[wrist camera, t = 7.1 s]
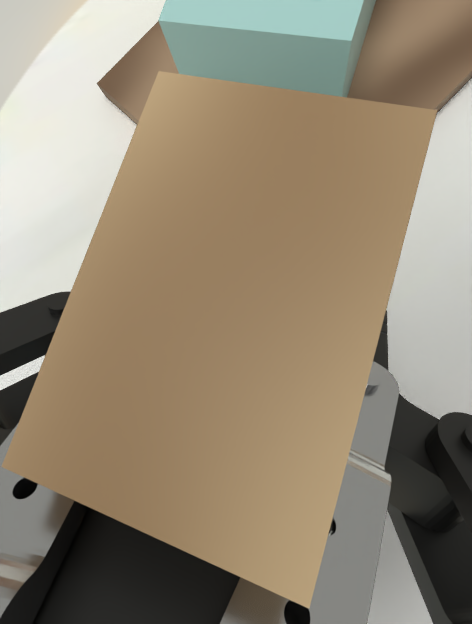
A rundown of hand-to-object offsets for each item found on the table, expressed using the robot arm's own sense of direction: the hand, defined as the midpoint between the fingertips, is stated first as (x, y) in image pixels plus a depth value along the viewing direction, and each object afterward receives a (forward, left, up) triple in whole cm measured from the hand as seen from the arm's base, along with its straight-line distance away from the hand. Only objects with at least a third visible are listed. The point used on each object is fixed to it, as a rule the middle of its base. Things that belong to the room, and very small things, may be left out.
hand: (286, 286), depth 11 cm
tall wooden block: (-1, +2, -6) cm, 7 cm away
